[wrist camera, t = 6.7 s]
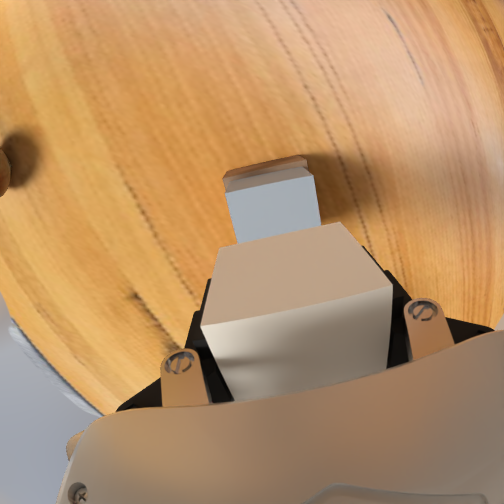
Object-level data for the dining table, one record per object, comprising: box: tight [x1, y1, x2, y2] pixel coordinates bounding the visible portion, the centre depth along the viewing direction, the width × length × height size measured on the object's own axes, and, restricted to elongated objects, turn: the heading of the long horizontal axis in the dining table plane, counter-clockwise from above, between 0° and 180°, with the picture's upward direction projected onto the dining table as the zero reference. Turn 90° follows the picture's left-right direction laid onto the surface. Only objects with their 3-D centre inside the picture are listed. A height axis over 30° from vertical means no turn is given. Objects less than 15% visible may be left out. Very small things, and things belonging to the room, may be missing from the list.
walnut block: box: [223, 155, 309, 190], centre depth 26 cm, size 7×7×4 cm
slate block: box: [225, 167, 321, 244], centre depth 22 cm, size 6×6×4 cm
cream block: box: [200, 222, 393, 401], centre depth 10 cm, size 5×5×5 cm
